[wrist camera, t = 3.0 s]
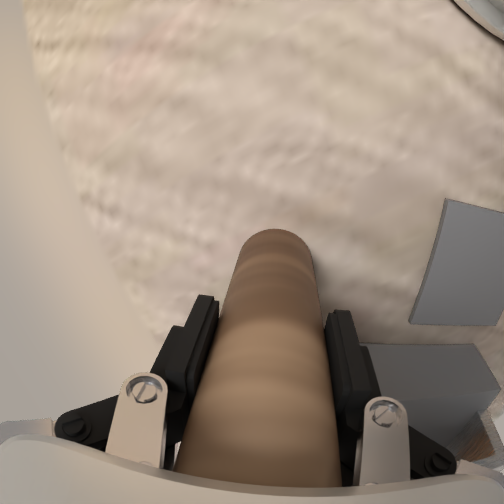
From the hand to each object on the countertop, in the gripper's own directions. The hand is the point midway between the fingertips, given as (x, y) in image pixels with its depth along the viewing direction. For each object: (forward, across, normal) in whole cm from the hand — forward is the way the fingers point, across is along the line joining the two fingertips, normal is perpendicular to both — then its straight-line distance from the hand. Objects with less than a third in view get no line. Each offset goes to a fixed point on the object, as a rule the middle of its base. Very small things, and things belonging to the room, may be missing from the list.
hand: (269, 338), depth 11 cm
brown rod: (+6, 0, 0) cm, 6 cm away
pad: (+6, -13, -1) cm, 14 cm away
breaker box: (+6, -10, +13) cm, 18 cm away
